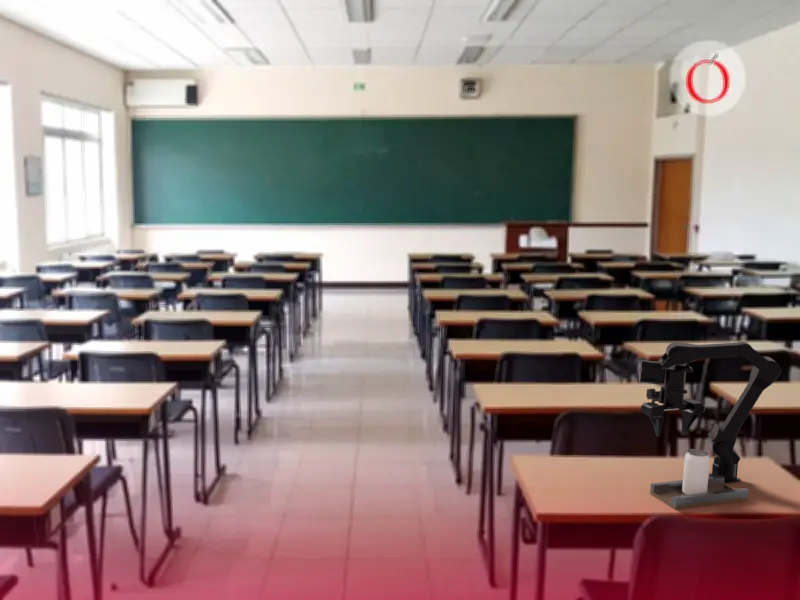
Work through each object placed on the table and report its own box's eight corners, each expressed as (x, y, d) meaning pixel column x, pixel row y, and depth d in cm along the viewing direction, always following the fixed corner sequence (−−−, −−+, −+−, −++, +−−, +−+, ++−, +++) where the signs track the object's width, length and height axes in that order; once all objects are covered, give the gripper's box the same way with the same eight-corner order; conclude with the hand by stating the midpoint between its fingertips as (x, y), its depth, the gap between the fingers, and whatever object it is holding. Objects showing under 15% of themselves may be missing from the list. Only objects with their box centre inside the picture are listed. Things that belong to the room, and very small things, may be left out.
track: (720, 485, 219) (720, 475, 219) (747, 500, 209) (748, 489, 209) (650, 493, 212) (650, 483, 212) (675, 509, 202) (676, 498, 201)
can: (708, 499, 207) (712, 457, 205) (684, 496, 208) (687, 455, 206) (704, 490, 213) (707, 449, 211) (680, 488, 214) (683, 447, 212)
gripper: (683, 376, 234) (679, 425, 237) (631, 380, 229) (628, 429, 231) (707, 385, 224) (703, 436, 226) (654, 389, 218) (650, 441, 221)
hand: (670, 435), depth 226 cm, fingers open, 9 cm apart
